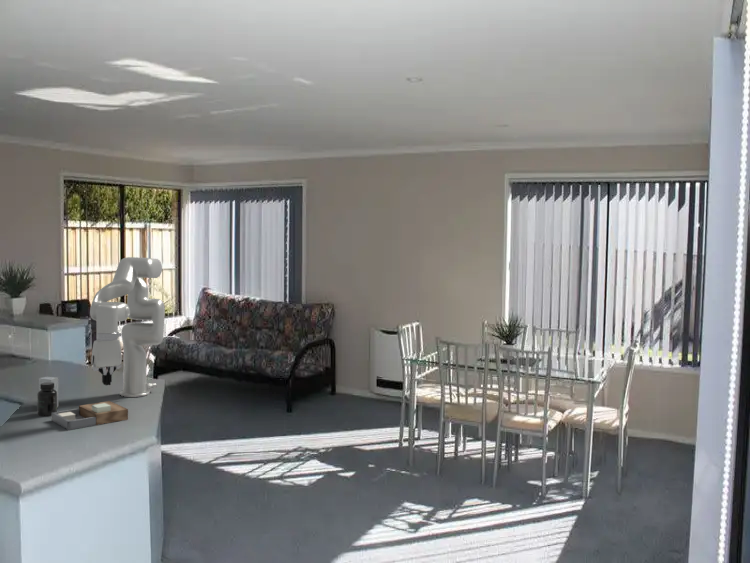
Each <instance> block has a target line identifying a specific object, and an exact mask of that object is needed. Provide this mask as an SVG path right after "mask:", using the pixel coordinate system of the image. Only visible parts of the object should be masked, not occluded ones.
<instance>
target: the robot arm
mask: <svg viewBox="0 0 750 563" xmlns="http://www.w3.org/2000/svg"><path fill="white" fill-rule="evenodd" d="M162 272H163V264H162V262H161V261H160V259H159V258H153V257H152V258H151V257H137V256H136V257H135V256H128V257H124V258H122V259H120V260H119V262H118V264H117V267H116V271H115V274H114V276H113V278H112V281H111V282H109V283H107V284H106V285H105V286H103V287H101V288H100V289H98V291H97V292H96V293H95V294H94V297H93V299H92V302H91V304H90V308H89V315H90V319H92V320H93V321H95V322H96V336H95V337H96V340H94V341H93V344H92V351H91V366H92V368H91V370H92V371H94V372H98V373H100V374H101V377H102V378H101V383H102V384H103V385H105V386H111V383H112V380H113V379H112V378H113V374H114V373H115V371H116V370H119V369H121V368H122V366H123V368H122V370H123V371H122V373H123V374H122V380H123V382H122V384H123V385H122V390H120V391H119V396H120V395H121V396H120V397H123V396H124V397H123V398H125V397H126V398H138V397H141V398H142V397H145V396H148V395H150V394H151V393H150V391H151V390H150V389H154V388H157V383H155V382H154V383H151V382H149V383H148V382H147V352H146V351H145V349H144V347H143V346H158V345H161V344H162V342H163V340H164V334H165V333H164V332H165V317H166V316H165V313H166V306H165V303H164V301H163V300H161V299H159V298H149V286H148V284H147V282H146V281H145V280H144V278H145V279H146V278H147V279H158V278H159V277H160V276H161V274H162ZM126 295H127V299H126V303H125V302H120V301H117V302H116V301H111V300H113V299H117V298H121V297H123V296H126ZM128 319H131V320H137V321H152V323H150V322H149V323H148V322H129V323H126V324H124V325H123V327H121V328H122V329H121V331H120V332H118V331H119V322H124V321H126V320H128ZM119 337H121V340H122V346H121V342H120V339H119ZM122 350H123V352H122ZM122 353H123V354H122ZM122 356H123V358H122ZM122 359H123V365H122Z"/></svg>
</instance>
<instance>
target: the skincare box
mask: <svg viewBox="0 0 750 563" xmlns="http://www.w3.org/2000/svg"><path fill="white" fill-rule="evenodd" d="M46 382H53V383H54V389H55V390H56V391H57V408H58V407H59V377H58V376H57V377H55V376H54V377H53V376H42V377H39V378H38V392H39V391H40V390H41V389H40V384H41V383H46Z"/></svg>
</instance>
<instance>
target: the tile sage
mask: <svg viewBox="0 0 750 563" xmlns="http://www.w3.org/2000/svg"><path fill="white" fill-rule="evenodd" d="M92 411H94V412H96V413H101V412H107V411H111V406H110V405H108V404H106V403H102V404H96V405H92Z"/></svg>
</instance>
